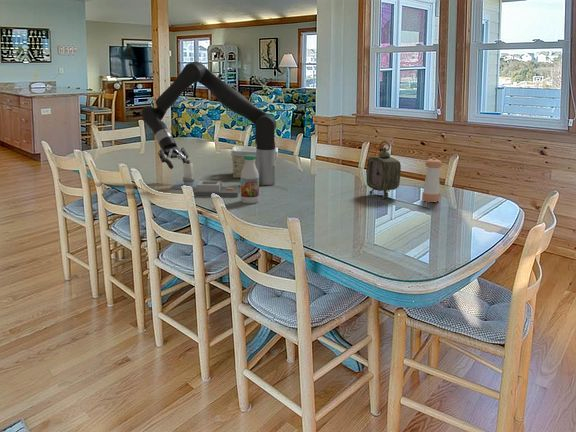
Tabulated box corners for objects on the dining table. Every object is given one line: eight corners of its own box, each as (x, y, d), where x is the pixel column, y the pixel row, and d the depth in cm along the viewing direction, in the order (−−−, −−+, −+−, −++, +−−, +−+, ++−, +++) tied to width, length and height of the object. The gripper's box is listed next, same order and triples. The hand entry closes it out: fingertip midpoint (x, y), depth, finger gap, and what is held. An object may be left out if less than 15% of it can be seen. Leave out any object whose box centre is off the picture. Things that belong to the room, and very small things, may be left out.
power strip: (239, 191, 253) (239, 180, 251) (237, 197, 241) (237, 186, 240) (196, 190, 253) (196, 179, 251) (192, 196, 241) (191, 185, 240)
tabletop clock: (365, 193, 252) (368, 139, 246) (382, 192, 256) (385, 138, 249) (382, 200, 240) (386, 143, 233) (400, 199, 243) (404, 142, 237)
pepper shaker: (436, 199, 245) (440, 156, 240) (441, 202, 238) (445, 159, 233) (420, 198, 244) (423, 156, 239) (424, 202, 237) (428, 158, 232)
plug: (195, 183, 263) (194, 159, 259) (193, 185, 258) (192, 161, 254) (184, 183, 263) (183, 159, 259) (182, 185, 258) (181, 161, 254)
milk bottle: (237, 201, 234) (236, 154, 229) (252, 198, 238) (252, 153, 233) (247, 204, 228) (247, 157, 223) (262, 202, 233) (262, 155, 227)
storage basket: (277, 173, 296) (278, 146, 293) (277, 179, 281) (277, 150, 277) (233, 172, 296) (233, 145, 292) (230, 178, 280) (230, 150, 276)
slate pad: (205, 183, 267) (205, 181, 267) (201, 190, 254) (201, 187, 253) (177, 183, 267) (177, 181, 267) (171, 189, 254) (171, 187, 253)
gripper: (155, 136, 260) (170, 164, 255) (181, 134, 270) (195, 161, 265) (150, 146, 265) (164, 173, 260) (175, 144, 275) (189, 170, 270)
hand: (179, 167), depth 262 cm, fingers open, 8 cm apart
